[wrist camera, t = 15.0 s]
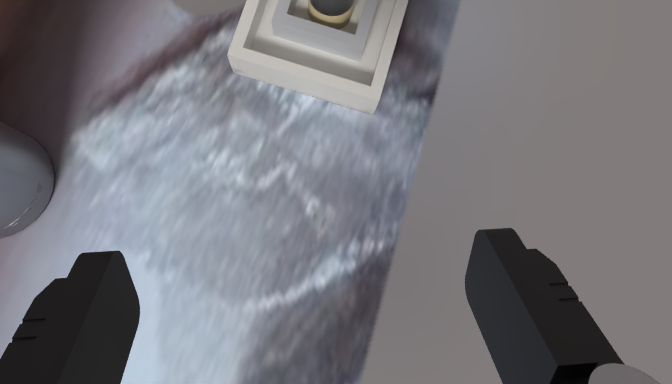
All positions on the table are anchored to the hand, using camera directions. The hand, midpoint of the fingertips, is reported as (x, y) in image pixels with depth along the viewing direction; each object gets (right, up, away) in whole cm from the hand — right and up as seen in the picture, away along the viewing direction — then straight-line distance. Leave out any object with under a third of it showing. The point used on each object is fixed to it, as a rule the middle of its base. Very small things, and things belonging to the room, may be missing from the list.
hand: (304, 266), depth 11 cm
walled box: (0, +18, +32) cm, 37 cm away
